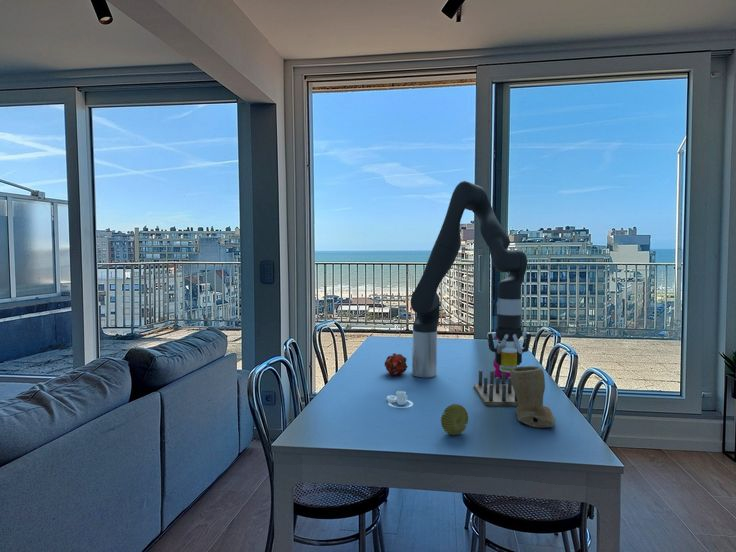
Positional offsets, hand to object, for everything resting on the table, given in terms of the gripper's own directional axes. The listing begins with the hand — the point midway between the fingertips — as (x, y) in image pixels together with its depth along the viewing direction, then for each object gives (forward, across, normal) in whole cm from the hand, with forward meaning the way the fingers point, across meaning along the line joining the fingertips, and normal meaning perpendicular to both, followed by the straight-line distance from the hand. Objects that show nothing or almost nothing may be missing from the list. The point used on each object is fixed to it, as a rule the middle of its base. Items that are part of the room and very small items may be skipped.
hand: (508, 364), depth 145 cm
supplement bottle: (+2, 0, 0) cm, 2 cm away
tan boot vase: (+12, -2, +16) cm, 20 cm away
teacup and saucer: (+12, +34, +2) cm, 36 cm away
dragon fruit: (+12, +35, -28) cm, 46 cm away
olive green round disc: (+12, +22, +27) cm, 37 cm away
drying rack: (+12, 0, -4) cm, 12 cm away
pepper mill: (+12, -6, -28) cm, 31 cm away
